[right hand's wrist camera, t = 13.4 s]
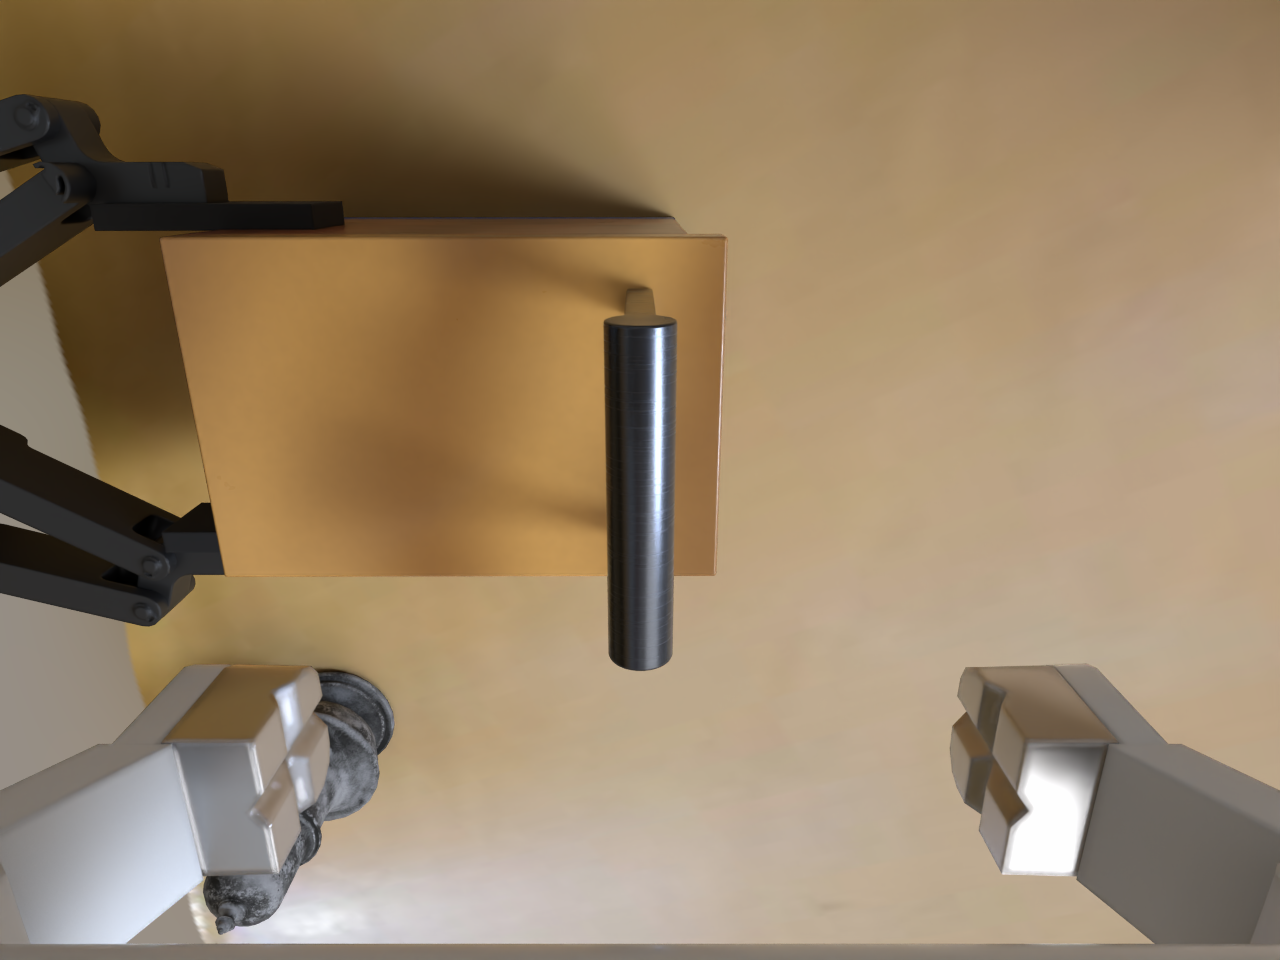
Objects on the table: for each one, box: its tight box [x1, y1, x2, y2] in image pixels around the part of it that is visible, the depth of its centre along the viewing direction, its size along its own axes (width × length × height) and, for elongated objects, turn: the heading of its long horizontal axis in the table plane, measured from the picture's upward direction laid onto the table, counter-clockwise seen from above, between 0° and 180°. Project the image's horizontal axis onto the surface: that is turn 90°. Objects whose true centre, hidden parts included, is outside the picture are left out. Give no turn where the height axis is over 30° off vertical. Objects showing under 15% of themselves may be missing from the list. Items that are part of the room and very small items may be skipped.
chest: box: [183, 217, 687, 235], centre depth 29 cm, size 14×10×10 cm
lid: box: [159, 234, 728, 671], centre depth 20 cm, size 15×10×8 cm, turn 90°
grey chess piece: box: [203, 672, 394, 935], centre depth 34 cm, size 6×6×12 cm
